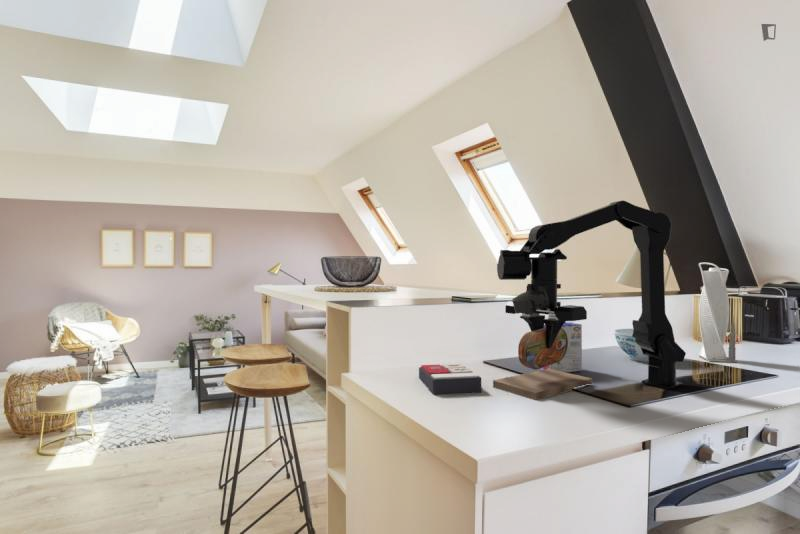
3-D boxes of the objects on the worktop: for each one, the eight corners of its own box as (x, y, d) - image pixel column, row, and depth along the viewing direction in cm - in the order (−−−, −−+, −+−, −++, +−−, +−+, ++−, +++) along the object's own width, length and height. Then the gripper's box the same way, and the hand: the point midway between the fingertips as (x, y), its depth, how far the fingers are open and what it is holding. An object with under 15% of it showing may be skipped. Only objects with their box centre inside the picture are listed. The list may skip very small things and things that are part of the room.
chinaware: (682, 365, 134) (683, 337, 133) (627, 364, 134) (628, 336, 134) (655, 354, 149) (655, 328, 148) (605, 353, 149) (605, 328, 149)
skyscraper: (704, 361, 138) (706, 262, 137) (692, 355, 146) (693, 262, 145) (737, 362, 137) (739, 262, 136) (723, 356, 145) (725, 262, 144)
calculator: (461, 362, 122) (481, 374, 107) (461, 379, 122) (482, 393, 107) (418, 363, 120) (433, 376, 105) (418, 381, 120) (433, 396, 105)
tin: (526, 373, 107) (527, 336, 106) (514, 369, 110) (515, 333, 108) (568, 359, 116) (569, 325, 115) (557, 356, 118) (558, 322, 117)
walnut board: (548, 374, 123) (549, 368, 123) (591, 385, 113) (591, 378, 113) (493, 386, 111) (493, 380, 111) (535, 399, 102) (535, 392, 102)
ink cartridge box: (568, 366, 132) (569, 313, 131) (583, 371, 127) (583, 315, 126) (538, 369, 128) (538, 314, 128) (551, 374, 123) (552, 317, 123)
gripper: (489, 279, 115) (489, 345, 115) (556, 283, 99) (555, 359, 100) (521, 277, 121) (520, 340, 122) (588, 281, 106) (587, 352, 106)
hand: (543, 347), depth 112 cm, fingers closed on tin, 2 cm apart
